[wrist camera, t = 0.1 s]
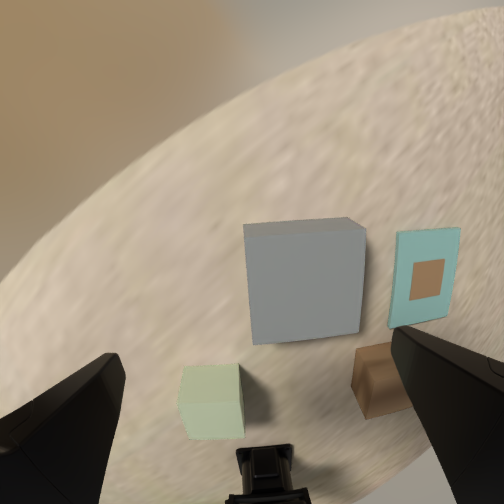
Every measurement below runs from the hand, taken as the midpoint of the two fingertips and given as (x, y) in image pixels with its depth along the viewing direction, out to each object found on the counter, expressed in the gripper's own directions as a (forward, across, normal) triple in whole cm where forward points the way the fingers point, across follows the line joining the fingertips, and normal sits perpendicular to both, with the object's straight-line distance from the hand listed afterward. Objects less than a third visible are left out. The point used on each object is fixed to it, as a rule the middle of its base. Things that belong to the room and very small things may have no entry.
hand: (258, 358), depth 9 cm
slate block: (+15, -4, +3) cm, 16 cm away
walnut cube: (+15, -12, +14) cm, 24 cm away
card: (+15, -16, +5) cm, 22 cm away
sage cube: (+15, +4, +14) cm, 21 cm away
